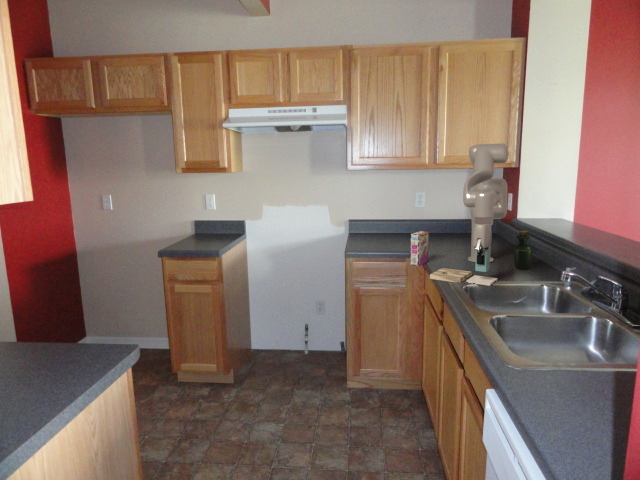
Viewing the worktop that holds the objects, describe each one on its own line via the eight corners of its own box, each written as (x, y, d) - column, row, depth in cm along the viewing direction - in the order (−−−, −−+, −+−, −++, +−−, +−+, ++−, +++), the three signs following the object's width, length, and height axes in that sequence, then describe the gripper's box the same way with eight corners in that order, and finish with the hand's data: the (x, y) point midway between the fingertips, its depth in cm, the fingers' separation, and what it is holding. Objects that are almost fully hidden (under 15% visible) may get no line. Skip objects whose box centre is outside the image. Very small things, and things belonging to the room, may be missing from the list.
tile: (474, 277, 198) (474, 275, 198) (497, 280, 192) (497, 278, 191) (466, 282, 190) (466, 280, 190) (490, 285, 184) (490, 283, 184)
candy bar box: (419, 266, 222) (419, 234, 219) (410, 265, 225) (410, 233, 223) (428, 262, 231) (429, 231, 228) (420, 261, 234) (420, 230, 231)
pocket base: (442, 272, 209) (442, 268, 209) (471, 275, 201) (471, 271, 200) (429, 278, 198) (429, 274, 198) (460, 282, 190) (460, 278, 189)
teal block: (478, 268, 193) (479, 248, 191) (489, 269, 190) (489, 249, 189) (475, 270, 189) (475, 250, 188) (485, 272, 187) (486, 251, 185)
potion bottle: (533, 270, 207) (535, 232, 204) (514, 270, 208) (516, 232, 205) (528, 266, 215) (529, 229, 212) (510, 266, 216) (512, 230, 213)
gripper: (481, 218, 195) (480, 258, 198) (467, 222, 182) (466, 265, 185) (498, 219, 191) (497, 260, 193) (486, 223, 178) (484, 267, 180)
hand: (482, 262), depth 189 cm, fingers closed on teal block, 4 cm apart
